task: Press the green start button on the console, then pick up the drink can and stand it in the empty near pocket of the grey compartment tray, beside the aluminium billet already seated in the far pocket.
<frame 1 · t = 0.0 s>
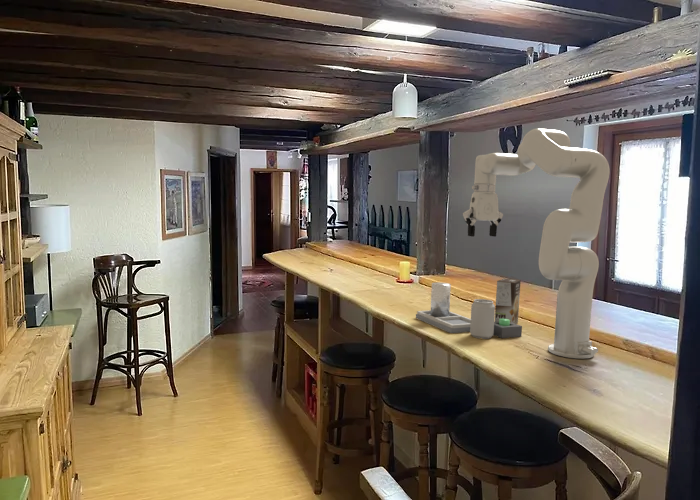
hand: (482, 236, 196), 31 cm above the bar counter, tool pointing down, fingers open, 9 cm apart
grey compartment tray: (447, 324, 191), on the bar counter
coffee box: (506, 324, 194), on the bar counter
button: (504, 324, 178), point 3 cm above the bar counter, slide at 0.0 cm
can: (481, 337, 175), on the bar counter
console: (503, 334, 178), on the bar counter
billet: (439, 320, 196), resting on grey compartment tray
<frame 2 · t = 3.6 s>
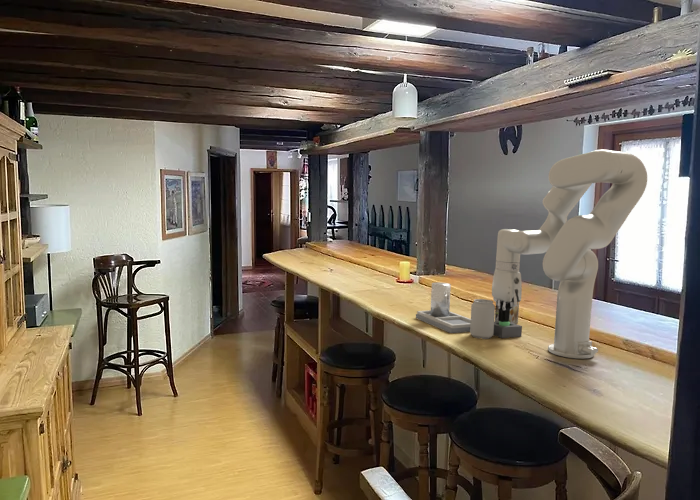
hand: (503, 321, 178), 4 cm above the bar counter, tool pointing down, fingers closed
button: (504, 325, 178), point 3 cm above the bar counter, slide at 0.6 cm
everything else where it was.
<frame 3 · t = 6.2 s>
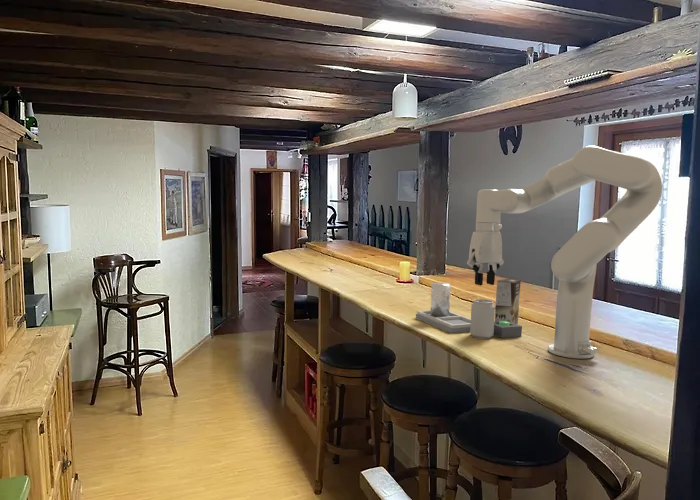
hand: (484, 284, 173), 17 cm above the bar counter, tool pointing down, fingers open, 3 cm apart
nothing on the bar counter moved.
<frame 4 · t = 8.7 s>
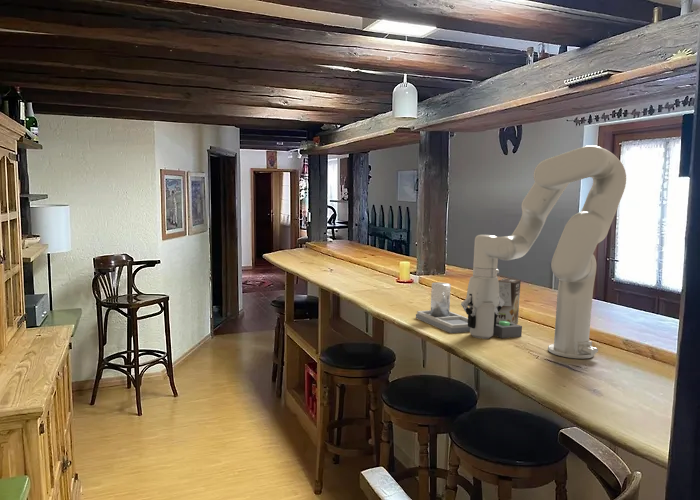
hand: (481, 326, 175), 3 cm above the bar counter, tool pointing down, fingers closed on can, 7 cm apart
can: (481, 336, 175), on the bar counter, touching gripper
everything else where it was.
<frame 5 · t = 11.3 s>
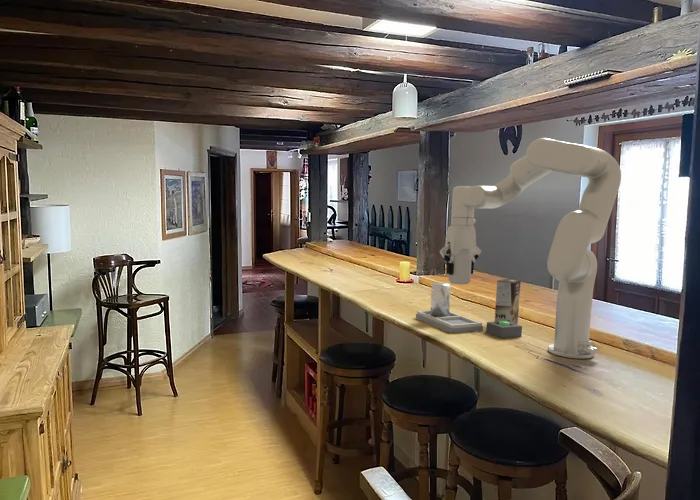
hand: (459, 273, 184), 19 cm above the bar counter, tool pointing down, fingers closed on can, 7 cm apart
can: (459, 283, 184), point 15 cm above the bar counter, touching gripper
everything else where it was.
when the fingers open (6 cm above the bar counter, at t = 14.1 s): can stays where it is, resting on grey compartment tray.
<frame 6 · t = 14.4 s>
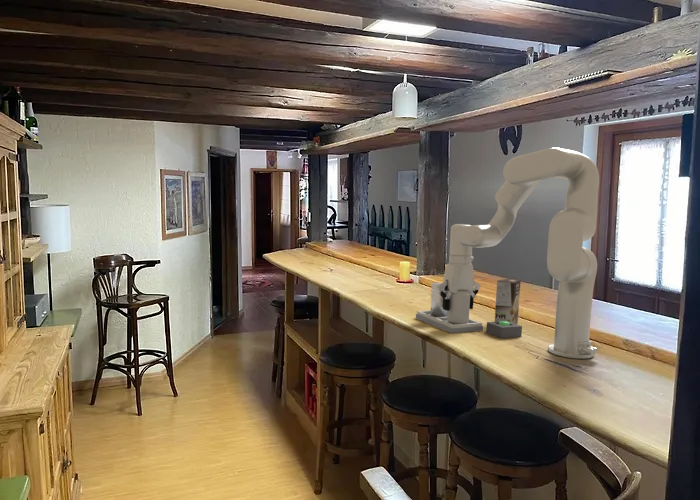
hand: (457, 309, 185), 6 cm above the bar counter, tool pointing down, fingers open, 9 cm apart
can: (457, 323, 185), point 1 cm above the bar counter, touching grey compartment tray
everything else where it was.
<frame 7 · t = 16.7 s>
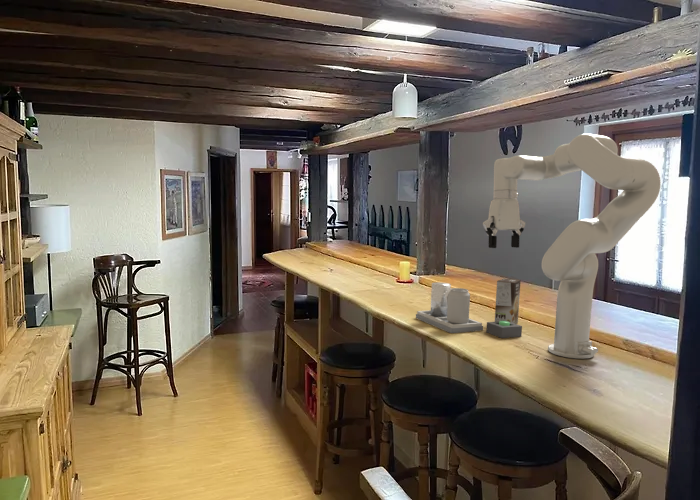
hand: (503, 247, 178), 29 cm above the bar counter, tool pointing down, fingers open, 9 cm apart
nothing on the bar counter moved.
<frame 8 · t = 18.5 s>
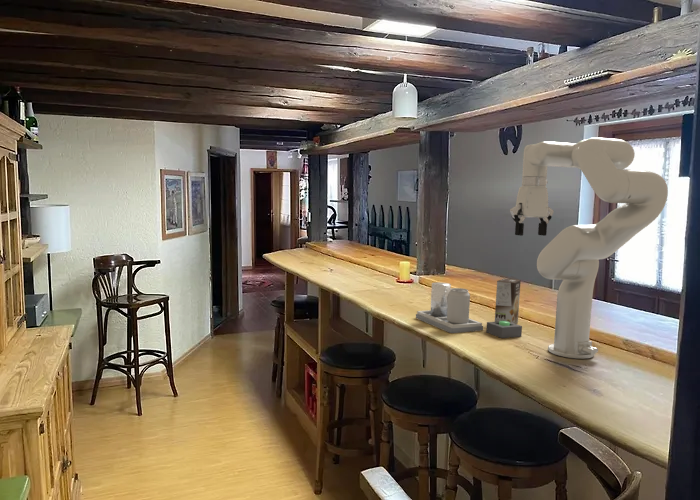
hand: (530, 235, 176), 33 cm above the bar counter, tool pointing down, fingers open, 9 cm apart
nothing on the bar counter moved.
at the end: can 0.2 cm from the target spot on the grey compartment tray, point 1.4 cm above the grey compartment tray's base; can tilted 0°; button slide at 0.8 cm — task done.
